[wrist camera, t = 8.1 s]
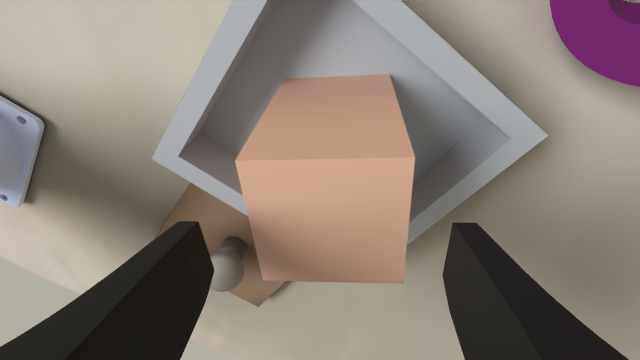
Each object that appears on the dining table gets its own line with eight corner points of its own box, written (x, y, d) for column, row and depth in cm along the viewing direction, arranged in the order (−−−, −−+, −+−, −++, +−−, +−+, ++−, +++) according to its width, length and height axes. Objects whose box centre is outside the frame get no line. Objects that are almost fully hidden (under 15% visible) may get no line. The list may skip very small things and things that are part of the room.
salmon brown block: (295, 167, 19) (263, 280, 12) (283, 78, 16) (234, 160, 10) (385, 166, 18) (403, 283, 12) (389, 73, 16) (415, 157, 9)
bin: (182, 128, 19) (150, 158, 16) (301, -90, 13) (287, -105, 10) (358, 240, 23) (359, 282, 20) (514, 105, 17) (548, 135, 14)
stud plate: (154, 240, 24) (119, 290, 21) (209, 154, 20) (176, 198, 16) (261, 295, 27) (246, 349, 23) (330, 229, 22) (325, 283, 19)
